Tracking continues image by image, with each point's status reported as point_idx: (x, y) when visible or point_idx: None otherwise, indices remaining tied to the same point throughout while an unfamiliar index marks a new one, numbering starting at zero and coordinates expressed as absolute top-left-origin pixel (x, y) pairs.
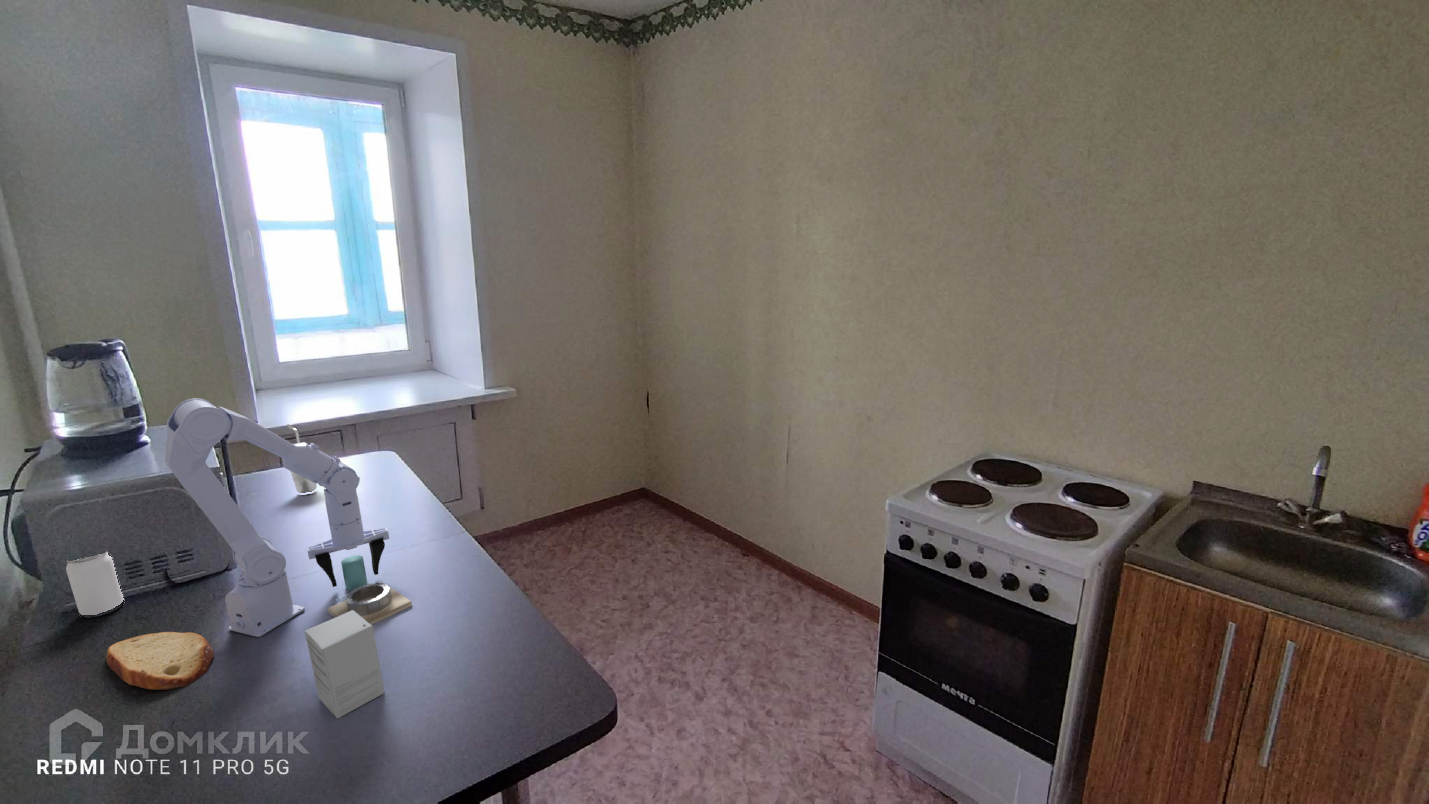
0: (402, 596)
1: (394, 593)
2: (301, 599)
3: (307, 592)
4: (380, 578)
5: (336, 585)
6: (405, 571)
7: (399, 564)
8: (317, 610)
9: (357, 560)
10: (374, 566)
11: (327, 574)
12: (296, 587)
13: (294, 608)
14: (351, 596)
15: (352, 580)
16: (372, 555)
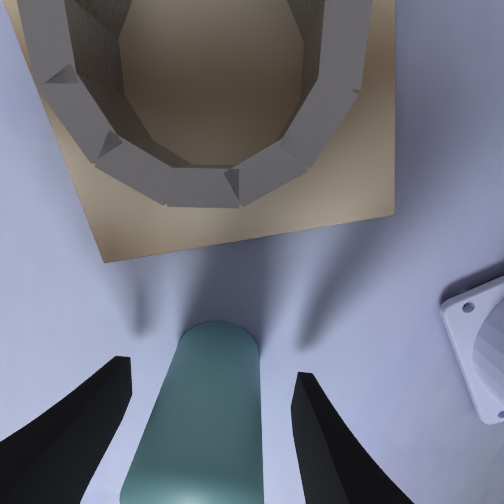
0: (12, 8)
1: None
2: (408, 388)
3: (372, 419)
4: (124, 348)
5: (300, 374)
6: (18, 336)
7: (41, 402)
8: (404, 265)
9: (161, 483)
10: (96, 391)
11: (361, 445)
12: (384, 467)
13: (476, 328)
14: (312, 90)
15: (232, 361)
16: (51, 484)
